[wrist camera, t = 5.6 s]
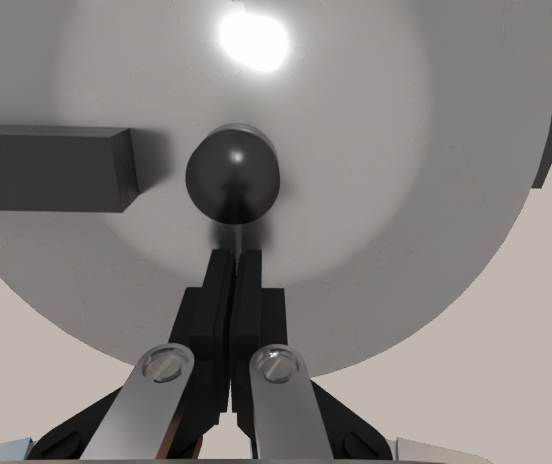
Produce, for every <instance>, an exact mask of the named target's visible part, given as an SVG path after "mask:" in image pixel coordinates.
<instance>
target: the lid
mask: <svg viewBox="0 0 552 464" xmlns="http://www.w3.org/2000/svg"><path fill="white" fill-rule="evenodd" d="M551 115H552V0H0V278H1V279H2V280H3V281H4V282H5V283H6V284H7V285H8V286H9V287H10V288H11V289H12V290H13V291H14V292H15V293H16V294H17V295H19V296H20V297H21V298H22V299H23V300H24V301H26V302H27V303H28V304H29V305H30V306H31V307H32V308H34V309H35V310H36V311H37V312H38V313H40V314H41V315H42V316H44V317H45V318H47V319H48V320H49V321H51V322H52V323H54V324H55V325H57V326H58V327H59V328H61V329H62V330H63V331H65V332H66V333H68V334H70V335H72V336H73V337H75V338H77V339H79V340H80V341H82V342H84V343H85V344H87V345H89V346H91V347H93V348H94V349H96V350H99V351H101V352H103V353H105V354H107V355H110V356H112V357H114V358H116V359H118V360H120V361H123V362H125V363H128V364H131V365H134V366H135V365H136V364H137V362H138V361H139V359H140V358H141V357H142V356H143V354H145V353H146V352H147V351H149V350H150V349H152V348H154V347H156V346H158V345H162V344H167V343H168V340H169V337H170V334H171V331H172V328H173V325H174V322H175V319H176V316H177V313H178V310H179V307H180V304H181V301H182V298H183V295H184V292H185V289H186V288H187V287H202V285H203V281H204V278H205V274H206V270H207V266H208V263H209V259H210V255H211V252H212V249H229V253H234V254H235V262H236V278H237V270H238V263H239V255H240V254H246V249H248V250H262V288H284V291H285V306H286V322H287V338H288V346H290V347H291V348H293V349H295V350H297V351H298V352H299V353H300V354H301V355H302V357H303V359H304V361H305V364H306V367H307V371H308V374H309V377H310V378H311V377H315V376H320V375H324V374H328V373H331V372H334V371H337V370H340V369H343V368H346V367H349V366H352V365H354V364H358V363H360V362H362V361H364V360H366V359H368V358H371V357H373V356H375V355H377V354H379V353H382V352H384V351H385V350H387V349H389V348H391V347H392V346H394V345H396V344H397V343H399V342H401V341H403V340H404V339H406V338H408V337H410V336H411V335H413V334H414V333H415V332H417V331H418V330H419V329H421V328H422V327H424V326H425V325H426V324H428V323H429V322H430V321H432V320H433V319H434V318H436V317H437V316H438V315H439V314H440V313H442V312H443V311H444V310H445V309H446V308H447V307H448V306H449V305H450V304H451V303H453V301H455V300H456V299H457V298H458V297H459V296H460V295H461V294H462V293H463V292H464V291H465V290H466V289H467V288H468V287H469V285H470V284H471V283H472V282H473V281H474V280H475V279H476V278H477V276H478V275H479V274H480V273H481V272H482V271H483V270H484V268H485V267H486V265H487V264H488V263H489V261H490V260H491V259H492V257H493V256H494V254H495V253H496V252H497V250H498V249H499V247H500V246H501V245H502V243H503V242H504V240H505V239H506V237H507V235H508V233H509V231H510V230H511V228H512V226H513V224H514V223H515V221H516V219H517V217H518V215H519V214H520V212H521V210H522V208H523V206H524V203H525V201H526V198H527V196H528V194H529V191H530V189H531V187H532V184H533V182H534V179H535V177H536V175H537V172H538V169H539V165H540V162H541V158H542V155H543V151H544V148H545V144H546V141H547V137H548V133H549V128H550V122H551ZM230 385H231V380H230Z"/></svg>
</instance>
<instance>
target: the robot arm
mask: <svg viewBox="0 0 552 464" xmlns="http://www.w3.org/2000/svg"><path fill="white" fill-rule="evenodd" d="M230 380H231V397H232V412H233V413H237V425H238V427H239V428H240V429H241V430H242V431H243V432H244V433H245V434H246V435H247V436H248V437H249V438H250V449H251V459H198V456H199V452H200V449H201V446H202V441H203V434H204V433H206V432H207V431H208V430H209V429H210V428H212V427H213V426H214V425H218V424H219V416H220V413H225V412H227V407H228V398H229V389H230ZM0 464H493V463H491V462H490V461H489V460H487V459H484V458H482V457H479V456H477V455H472V454H468V453H463V452H459V451H455V450H450V449H446V448H442V447H437V446H433V445H429V444H424V443H419V442H415V441H411V440H406V439H402V438H397V440H396V442H395V441H391V440H386V439H385V438H384V437H383V436H382V435H381V434H380V433H379V432H378V431H377V430H376V429H374V428H373V427H372V426H371V425H370V424H368V423H367V422H366V421H364V420H363V419H362V418H360V417H359V416H358V415H356V414H355V413H354V412H353V411H351V410H350V409H349V408H347V407H346V406H345V405H343V404H342V403H341V402H339V401H338V400H337V399H336V398H334V397H333V396H332V395H330V394H329V393H328V392H326V391H325V390H324V389H322V388H321V387H320V386H319V385H317V384H316V383H315V382H313V381H312V380H310V377H309V374H308V371H307V367H306V364H305V361H304V359H303V357H302V355H301V354H300V353H299V352H298V351H297V350H295V349H293V348H291V347H290V346H288V338H287V322H286V306H285V291H284V288H262V250H248V249H246V254H240V255H239V263H238V270H237V278H236V262H235V254H234V253H229V249H212V252H211V255H210V259H209V263H208V266H207V270H206V274H205V278H204V281H203V285H202V287H187V288H186V289H185V292H184V295H183V298H182V301H181V304H180V307H179V310H178V313H177V316H176V319H175V322H174V325H173V328H172V331H171V334H170V337H169V340H168V343H167V344H162V345H158V346H156V347H154V348H152V349H150V350H149V351H147V352H146V353H145V354H143V356H142V357H141V358H140V359H139V361H138V362H137V364H136V365H135V367H134V369H133V370H132V372H131V374H130V376H129V377H128V379H127V381H126V382H125V384H124V385H123V386H122V387H120V388H118V389H117V390H115V391H114V392H112V393H110V394H109V395H107V396H106V397H104V398H103V399H101V400H99V401H97V402H96V403H94V404H93V405H91V406H89V407H88V408H86V409H84V410H83V411H81V412H80V413H78V414H76V415H75V416H73V417H72V418H70V419H68V420H67V421H65V422H63V423H62V424H60V425H59V426H57V427H55V428H54V429H52V430H51V431H49V432H48V433H47V434H46V435H44V436H43V437H42V438H41V439H40V440H39V441H34V442H33V441H32V439H31V437H30V438H25V439H20V440H15V441H11V442H6V443H1V444H0Z"/></svg>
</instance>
